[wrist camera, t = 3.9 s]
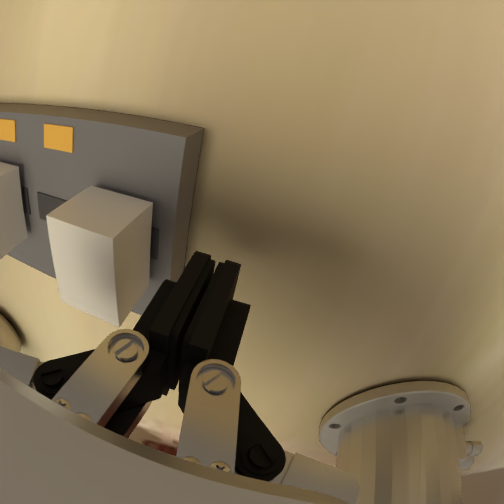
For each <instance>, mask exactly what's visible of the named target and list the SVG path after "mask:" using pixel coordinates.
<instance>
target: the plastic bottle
mask: <svg viewBox="0 0 504 504" xmlns="http://www.w3.org/2000/svg"><path fill="white" fill-rule="evenodd" d="M0 346H1V347H4V348H7V349H10V350H13V351H16V352H19V353H20V351H21V341H20V338H19V336H18V334H17V333H16V331H15V330H14V328H13V327H12V325H11V324H10V323H9V322H8V321H7V320H6V318H5V317H4V316H2V315H1V314H0Z"/></svg>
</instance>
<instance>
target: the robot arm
mask: <svg viewBox="0 0 504 504" xmlns="http://www.w3.org/2000/svg"><path fill="white" fill-rule="evenodd" d="M214 267H215V261H214V260H211V255H208V254H205V253H202V252H198V251H196V252H195V253H194V255H193V256H192V258H191V260H190V261H189V263H188V264H187V266H186V268H185V269H184V271H183V273H182V274H181V276H180V278H179V279H178V281H177V282H174V281H171V280H168V279H166V280H164V281H163V283H162V284H161V286H160V287H159V289H158V290H157V292H156V294H155V295H154V297H153V298H152V300H151V301H150V303H149V305H148V306H147V308H146V309H145V311H144V313H143V314H142V316H141V317H140V319H139V321H138V322H137V324H136V326H135V327H134V329H133V330H130V329H121V330H117V331H114V332H112V333H111V334H109V335H108V336H107V337H106V338H105V339H104V340H103V341H102V343H101V344H100V345H99V346H98V347H97V348H96V349H94V350H90V351H86V352H82V353H78V354H74V355H70V356H66V357H62V358H58V359H54V360H49V361H47V362H40V360H39V359H38V358H35V357H32V356H28V355H25V354H22V353H19V352H16V351H13V350H10V349H7V348H4V347H1V346H0V504H462V488H461V476H460V470H467V469H469V468H470V467H471V466H472V464H473V462H474V456H476V455H479V453H480V452H481V450H482V443H481V442H480V441H468V442H465V438H464V432H463V428H464V426H465V425H466V424H467V422H468V420H469V418H470V413H471V408H470V403H469V399H468V397H467V395H466V393H465V392H464V391H462V390H461V389H460V388H458V387H456V386H454V385H451V384H448V383H443V382H437V381H412V382H402V383H397V384H391V385H386V386H382V387H379V388H375V389H371V390H368V391H365V392H363V393H360V394H357V395H355V396H353V397H351V398H349V399H347V400H345V401H343V402H341V403H340V404H338V405H337V406H335V407H334V408H332V409H331V410H330V411H329V412H328V413H327V414H326V415H325V416H324V418H323V420H322V421H321V424H320V431H319V441H320V443H321V444H322V446H323V447H324V448H325V449H326V450H327V451H329V452H330V453H332V454H334V455H336V456H337V460H336V468H334V467H332V466H329V465H326V464H323V463H321V462H318V461H315V460H313V459H310V458H308V457H305V456H303V455H300V454H298V453H295V454H292V453H289V452H287V451H285V450H283V448H282V447H281V445H280V444H279V443H278V441H277V440H276V439H275V437H274V436H273V435H272V434H271V432H270V431H269V430H268V428H267V427H266V426H265V424H264V423H263V422H262V420H261V419H260V418H259V416H258V415H257V414H256V412H255V411H254V410H253V408H252V407H251V406H250V404H249V403H248V401H247V400H246V399H245V397H244V396H243V395H242V393H241V392H240V391H241V378H240V375H239V373H238V371H237V370H236V369H235V368H234V367H233V365H234V361H235V358H236V355H237V351H238V348H239V344H240V341H241V337H242V334H243V331H244V327H245V324H246V320H247V317H248V313H249V310H250V306H251V305H248V304H245V303H242V302H238V301H235V300H233V296H234V292H235V287H236V283H237V279H238V275H239V271H240V267H241V264H239V263H235V262H232V261H229V260H226V261H225V263H221V262H219V264H218V266H217V268H216V270H215V272H214ZM213 272H214V274H213ZM178 381H179V400H178V405H179V407H180V409H181V410H182V412H183V414H184V416H183V421H182V427H181V432H180V438H179V444H178V450H177V456H176V457H175V456H172V455H170V454H167V453H164V452H161V451H158V450H156V449H153V448H151V447H148V446H145V445H143V444H140V443H138V442H135V441H133V440H130V439H128V438H129V436H130V434H131V433H132V432H133V430H134V429H135V427H136V426H137V424H138V423H139V422H140V420H141V419H142V417H143V416H144V414H145V413H146V411H147V410H148V408H149V407H150V405H151V402H152V401H153V400H156V399H159V398H161V395H162V394H163V395H166V396H167V393H168V391H169V389H173V390H175V388H176V386H177V384H178Z"/></svg>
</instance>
